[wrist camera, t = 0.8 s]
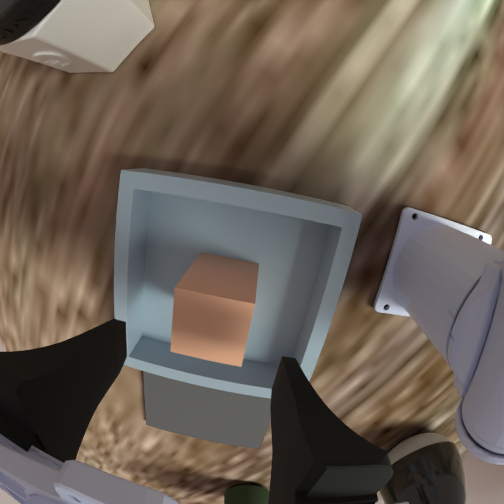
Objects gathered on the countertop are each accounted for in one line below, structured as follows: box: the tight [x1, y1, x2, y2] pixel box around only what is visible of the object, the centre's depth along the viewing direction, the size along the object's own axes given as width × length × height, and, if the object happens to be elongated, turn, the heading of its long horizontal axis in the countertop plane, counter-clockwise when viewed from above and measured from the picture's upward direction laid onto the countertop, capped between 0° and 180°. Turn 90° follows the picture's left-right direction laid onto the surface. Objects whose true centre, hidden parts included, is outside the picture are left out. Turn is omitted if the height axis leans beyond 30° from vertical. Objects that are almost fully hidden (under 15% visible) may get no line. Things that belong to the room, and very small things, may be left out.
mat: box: [143, 371, 271, 449], centre depth 25 cm, size 12×10×1 cm
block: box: [170, 252, 259, 367], centre depth 18 cm, size 4×4×6 cm
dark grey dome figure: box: [379, 433, 467, 504], centre depth 19 cm, size 10×10×15 cm
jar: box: [0, 0, 154, 73], centre depth 10 cm, size 9×8×12 cm
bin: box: [114, 168, 363, 399], centre depth 19 cm, size 14×14×4 cm
